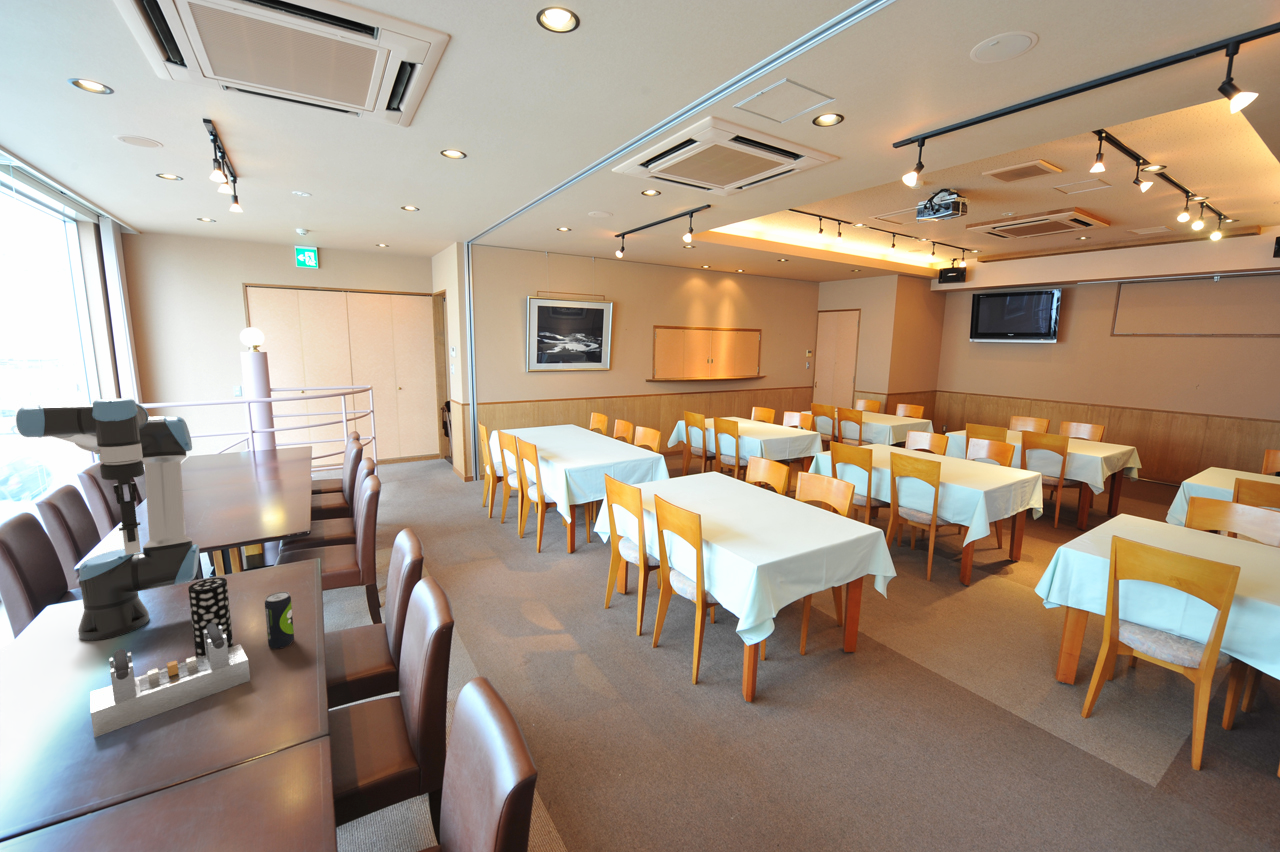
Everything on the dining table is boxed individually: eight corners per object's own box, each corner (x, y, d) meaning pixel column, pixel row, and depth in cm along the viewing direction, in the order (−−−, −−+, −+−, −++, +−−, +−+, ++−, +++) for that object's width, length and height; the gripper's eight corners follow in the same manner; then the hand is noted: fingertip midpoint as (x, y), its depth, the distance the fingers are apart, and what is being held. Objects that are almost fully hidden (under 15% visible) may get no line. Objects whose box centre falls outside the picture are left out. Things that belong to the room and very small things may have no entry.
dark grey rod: (206, 631, 135) (205, 624, 134) (216, 628, 136) (215, 621, 136) (215, 651, 126) (214, 643, 126) (225, 648, 127) (224, 640, 127)
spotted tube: (211, 660, 142) (204, 592, 139) (187, 656, 144) (180, 588, 141) (240, 643, 150) (234, 579, 147) (217, 640, 152) (210, 576, 149)
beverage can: (263, 647, 149) (259, 598, 147) (285, 636, 154) (281, 589, 152) (277, 652, 146) (273, 603, 144) (299, 641, 152) (295, 593, 150)
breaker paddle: (167, 672, 126) (166, 663, 126) (177, 669, 127) (176, 660, 127) (168, 676, 125) (167, 666, 124) (178, 673, 126) (177, 663, 126)
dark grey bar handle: (114, 658, 122) (113, 650, 122) (126, 654, 124) (125, 647, 124) (116, 682, 114) (115, 674, 113) (129, 678, 115) (128, 670, 115)
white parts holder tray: (93, 715, 120) (86, 662, 118) (242, 664, 140) (237, 618, 139) (94, 737, 113) (86, 682, 111) (250, 680, 134) (245, 632, 132)
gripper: (99, 459, 128) (110, 549, 131) (100, 468, 119) (112, 564, 122) (140, 455, 133) (151, 542, 136) (144, 463, 124) (155, 555, 128)
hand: (133, 552), depth 129 cm, fingers closed
